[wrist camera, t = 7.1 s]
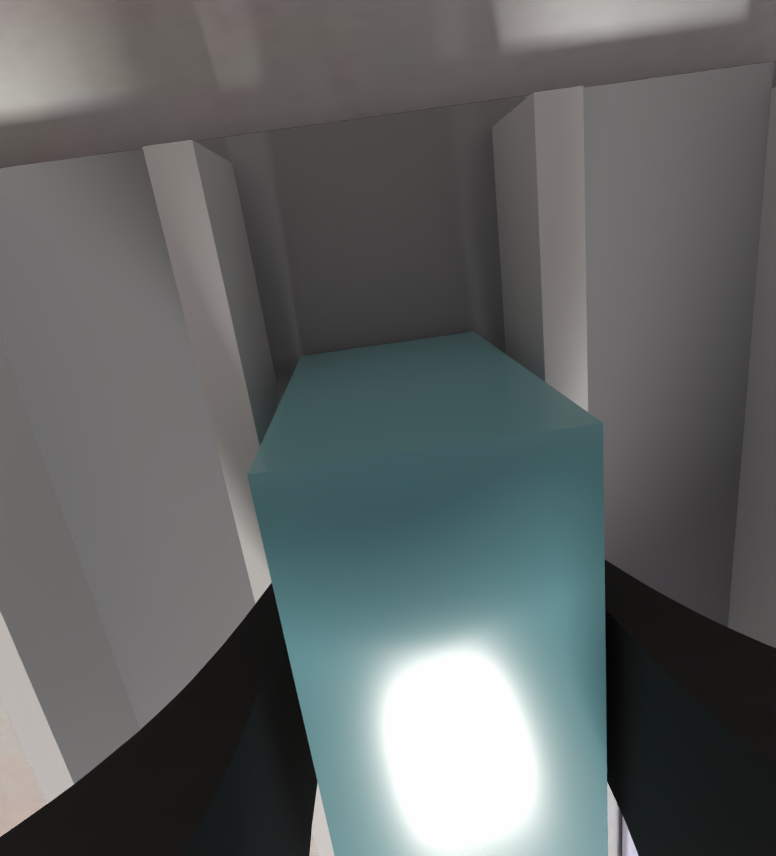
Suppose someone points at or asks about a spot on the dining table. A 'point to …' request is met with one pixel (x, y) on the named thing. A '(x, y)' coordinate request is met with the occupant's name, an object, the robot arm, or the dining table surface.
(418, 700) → the tall teal block
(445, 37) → the dining table surface
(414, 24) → the dining table surface
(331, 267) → the dish rack
